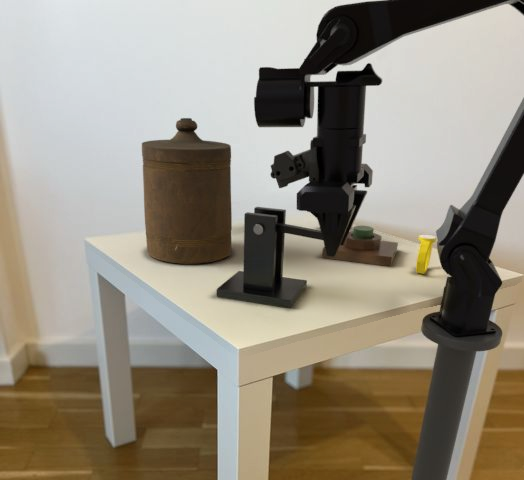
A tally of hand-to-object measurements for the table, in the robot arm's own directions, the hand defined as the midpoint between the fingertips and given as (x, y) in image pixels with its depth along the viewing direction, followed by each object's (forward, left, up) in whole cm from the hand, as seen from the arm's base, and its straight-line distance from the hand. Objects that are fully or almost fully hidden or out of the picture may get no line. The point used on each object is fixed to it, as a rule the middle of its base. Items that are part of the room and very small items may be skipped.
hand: (335, 250), depth 74 cm
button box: (+21, -15, -8) cm, 27 cm away
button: (+21, -15, -5) cm, 26 cm away
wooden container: (+28, +16, -8) cm, 33 cm away
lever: (+3, +5, +1) cm, 6 cm away
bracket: (+6, +8, -8) cm, 13 cm away
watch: (+10, -21, -8) cm, 24 cm away
